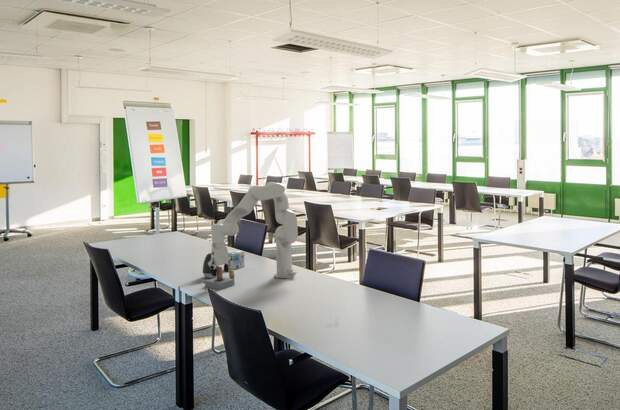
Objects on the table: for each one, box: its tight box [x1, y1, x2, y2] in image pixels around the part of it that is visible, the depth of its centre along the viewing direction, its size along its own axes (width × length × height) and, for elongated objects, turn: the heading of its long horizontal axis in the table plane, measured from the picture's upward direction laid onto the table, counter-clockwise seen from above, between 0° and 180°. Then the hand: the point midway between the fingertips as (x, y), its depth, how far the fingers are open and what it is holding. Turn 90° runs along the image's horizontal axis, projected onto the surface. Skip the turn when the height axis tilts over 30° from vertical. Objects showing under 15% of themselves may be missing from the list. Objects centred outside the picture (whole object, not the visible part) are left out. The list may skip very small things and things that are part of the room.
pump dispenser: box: [202, 253, 220, 279], centre depth 306 cm, size 10×10×15 cm
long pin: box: [216, 266, 223, 281], centre depth 287 cm, size 3×3×11 cm
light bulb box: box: [228, 249, 245, 270], centre depth 331 cm, size 11×7×11 cm, turn 143°
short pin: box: [228, 269, 235, 280], centre depth 303 cm, size 3×3×5 cm
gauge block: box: [204, 276, 235, 291], centre depth 287 cm, size 12×12×4 cm
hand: (220, 273), depth 287 cm, fingers open, 9 cm apart
